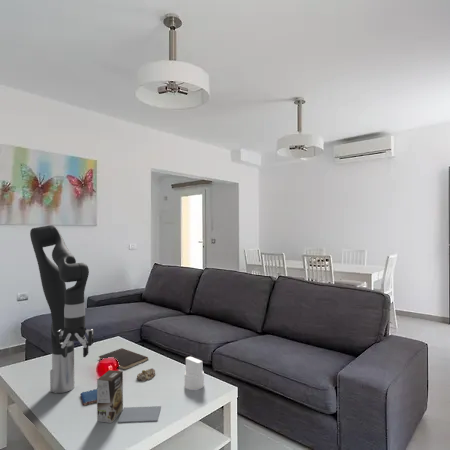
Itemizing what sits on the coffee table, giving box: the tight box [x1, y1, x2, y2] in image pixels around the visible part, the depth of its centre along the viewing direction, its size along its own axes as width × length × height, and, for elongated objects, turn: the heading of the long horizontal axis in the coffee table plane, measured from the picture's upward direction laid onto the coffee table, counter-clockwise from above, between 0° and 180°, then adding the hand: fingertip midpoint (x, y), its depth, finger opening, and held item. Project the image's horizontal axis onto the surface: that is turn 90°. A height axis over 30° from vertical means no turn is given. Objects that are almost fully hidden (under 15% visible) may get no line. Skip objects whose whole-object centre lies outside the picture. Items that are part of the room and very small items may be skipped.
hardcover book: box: [98, 348, 149, 370], centre depth 189 cm, size 16×23×2 cm
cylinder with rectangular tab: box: [183, 356, 205, 391], centre depth 158 cm, size 9×9×12 cm
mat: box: [117, 405, 162, 424], centre depth 134 cm, size 15×10×1 cm, turn 93°
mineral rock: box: [136, 368, 156, 382], centre depth 168 cm, size 11×4×8 cm
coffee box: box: [96, 369, 124, 424], centre depth 134 cm, size 9×6×16 cm
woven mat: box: [79, 388, 97, 406], centre depth 148 cm, size 10×11×2 cm
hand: (75, 356), depth 133 cm, fingers open, 7 cm apart
